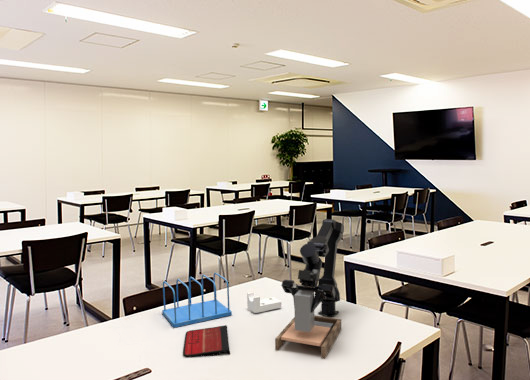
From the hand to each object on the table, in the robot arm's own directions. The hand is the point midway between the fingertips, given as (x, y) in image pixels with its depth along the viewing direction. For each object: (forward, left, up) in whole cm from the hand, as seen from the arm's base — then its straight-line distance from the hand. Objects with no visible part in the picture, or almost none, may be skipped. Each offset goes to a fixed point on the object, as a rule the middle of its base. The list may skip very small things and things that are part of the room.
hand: (303, 311), depth 150 cm
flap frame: (-7, -2, -13) cm, 16 cm away
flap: (-6, -2, -13) cm, 14 cm away
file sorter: (+1, -53, -14) cm, 55 cm away
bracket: (-21, -34, -14) cm, 42 cm away
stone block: (-1, 0, -7) cm, 7 cm away
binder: (+17, -31, -14) cm, 38 cm away
